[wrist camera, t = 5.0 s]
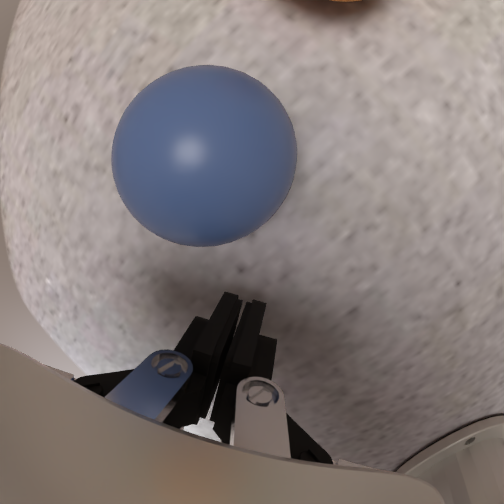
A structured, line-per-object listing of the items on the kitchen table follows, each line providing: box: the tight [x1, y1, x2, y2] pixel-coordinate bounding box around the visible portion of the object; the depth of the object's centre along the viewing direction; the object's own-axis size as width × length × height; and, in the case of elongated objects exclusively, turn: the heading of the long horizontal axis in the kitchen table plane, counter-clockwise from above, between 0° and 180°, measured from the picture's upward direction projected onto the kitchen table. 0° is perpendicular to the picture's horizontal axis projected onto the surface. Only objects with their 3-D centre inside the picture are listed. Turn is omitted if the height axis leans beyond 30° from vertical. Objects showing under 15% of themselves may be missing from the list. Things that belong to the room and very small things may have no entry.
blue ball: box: [111, 65, 297, 247], centre depth 9 cm, size 6×6×6 cm
